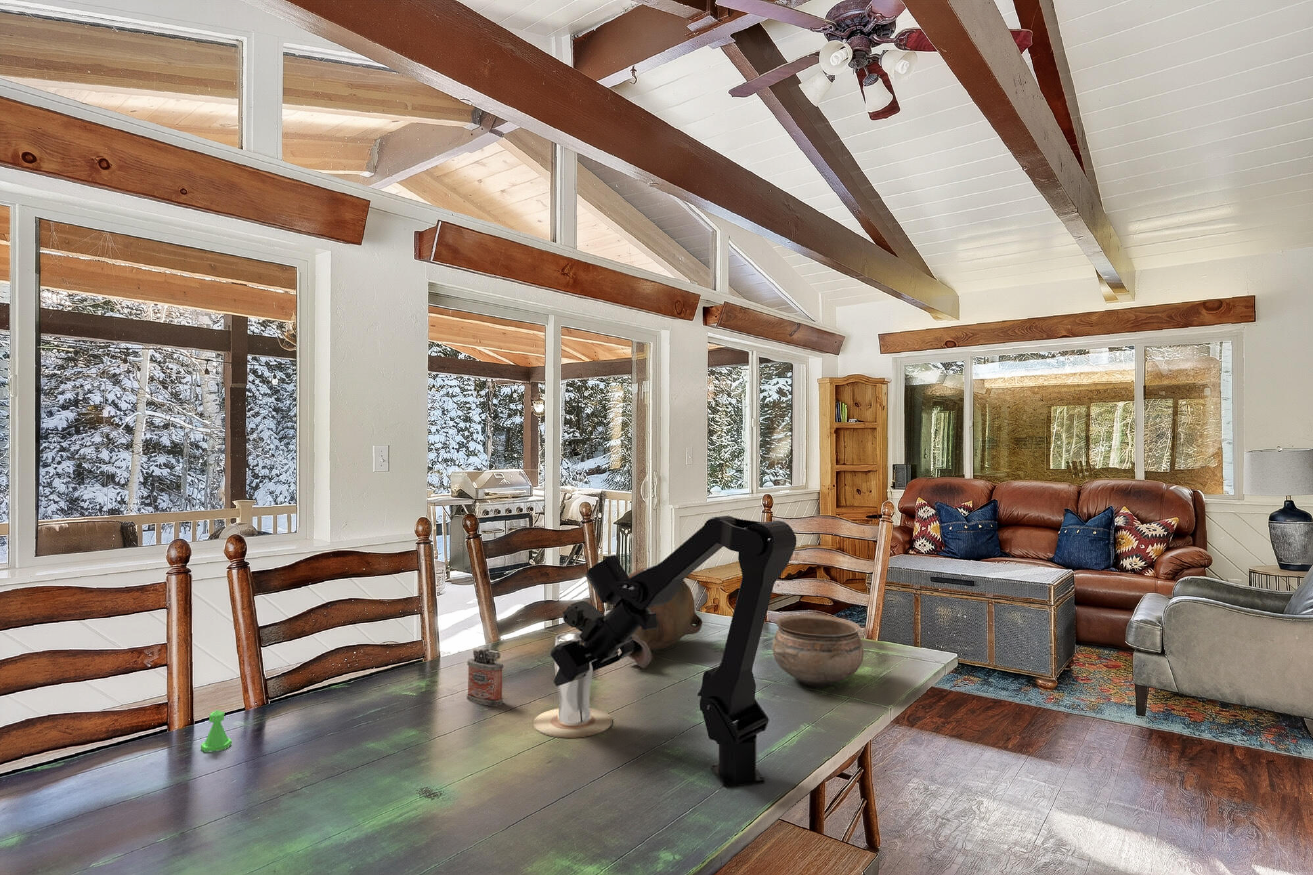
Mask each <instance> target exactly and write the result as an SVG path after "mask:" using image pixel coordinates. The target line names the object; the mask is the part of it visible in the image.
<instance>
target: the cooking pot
mask: <svg viewBox="0 0 1313 875" xmlns="http://www.w3.org/2000/svg"><path fill="white" fill-rule="evenodd" d="M775 624H776V626H777V630H776V632H775V635H774V638H773V642H772V654H773V657H774V660H775V662H776V663H777V664H778V667H779V668H780V669H782V671H784V672H785V673H787V674H788V675H789V676H791V677H793V678H794V679H796V680H798V681H799V682H801V683H802V684H803V685H806V686H809V687H812V688H813V687H814V688H828V687H832V686H833V685H834V684H837V683H840V682H843V681H844V680H845V679H848V678H850V677H852V676H853V675H854V674H855V673H857V671H858V670H859V669H860V667H861V665H862V664H863V661H864V657H865V656H864V654H865V653H864V652H865V651H864V646H863V642H862V640H861V637H860V636H859V633H858V632H859V631H860V630H861V626H860V625H859V624H858V623H857V622H854V621H852V620H849V619H846V618H841V617H835V616H829V615H817V614H801V615H800V614H799V615H788V616H784V617H780V618H779V619H777V620H776V621H775Z"/></svg>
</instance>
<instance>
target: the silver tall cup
mask: <svg viewBox="0 0 1313 875" xmlns="http://www.w3.org/2000/svg"><path fill="white" fill-rule="evenodd" d="M581 633H582V632H581V631H571V632H570V631H568V632H563V633H559V634H557V635H555V639H554V640H555V642H554V647H555V646H556V645H558V644H560V643H563V642H566V641H568V640H570V641H575V642H576V643H577V645H578V646H579V648H580V649H581V650H583V649H586V648H585V647H584V646H583V644H584V643H585V641H582V639H581V638H580V637H579V635H580V634H581ZM553 661H554V660H553ZM553 663H554V673H555V676H556V675H557V672H558V670H559V667H558V665H557V664H556V662H555V661H554V662H553ZM593 672H594V671H593V662H590V670H589V671H588V672H587V673H586V676H584V677H582V678H580V679H577V680H574V681H572V682H568V683H565V684H563V685H560V686H557V690H558V697H559V698H558V699H559V702H558V703H559V705H558V706H559V707H558V708H559V712H558V718H557V721H558V723H559V724H561V725H564V726H581V725H585V724H587V723H589V722H590V721H591V712H590V708H591V707H590V692H591V686H592V678H593Z"/></svg>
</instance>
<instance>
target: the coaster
mask: <svg viewBox="0 0 1313 875" xmlns="http://www.w3.org/2000/svg"><path fill="white" fill-rule="evenodd" d="M558 712H559V707H558V708H554V709H550V710H547V711H544V712H542V713H539V715H537V716H536V717H535V718H534V720H533V723H532V724H533V727H534V729H535V730H536V731H537V732H539V734H543V735H545V736H549V737H554V738H559V739H561V738H563V739H576V738H577V739H578V738H579V739H580V738H585V737H591V736H595V735H598V734H601V733H603V732H606V730H608V729H610V727H611V726H612V724H613V719H612V716H611V714H609V713H607V712H606V711H604V710H600V709H597V708H593V707H590V712H591V721H590V722H589V723H587V724H585V725H581V726H564V725H561V724H559V723H558V721H557V718H558Z"/></svg>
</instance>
